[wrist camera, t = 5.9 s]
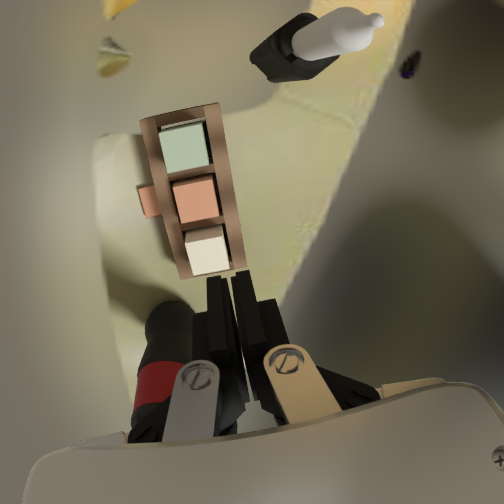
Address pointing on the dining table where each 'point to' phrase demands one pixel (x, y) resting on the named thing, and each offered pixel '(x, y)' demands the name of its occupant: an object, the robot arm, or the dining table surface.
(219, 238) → the cream button
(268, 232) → the dining table surface
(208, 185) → the terracotta button
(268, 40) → the candle
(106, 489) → the robot arm
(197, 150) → the sage button
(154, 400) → the cola bottle
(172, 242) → the walnut console
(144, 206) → the tile
